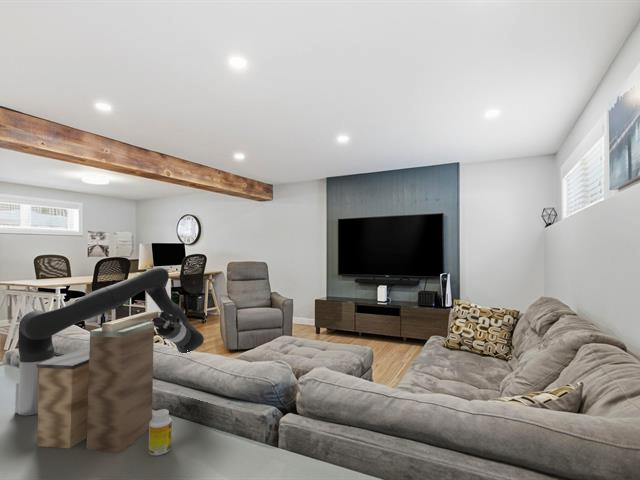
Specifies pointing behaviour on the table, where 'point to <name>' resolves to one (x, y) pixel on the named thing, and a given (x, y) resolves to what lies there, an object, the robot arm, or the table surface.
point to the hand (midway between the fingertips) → (149, 313)
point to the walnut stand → (119, 386)
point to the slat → (129, 321)
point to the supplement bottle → (160, 432)
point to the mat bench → (63, 400)
